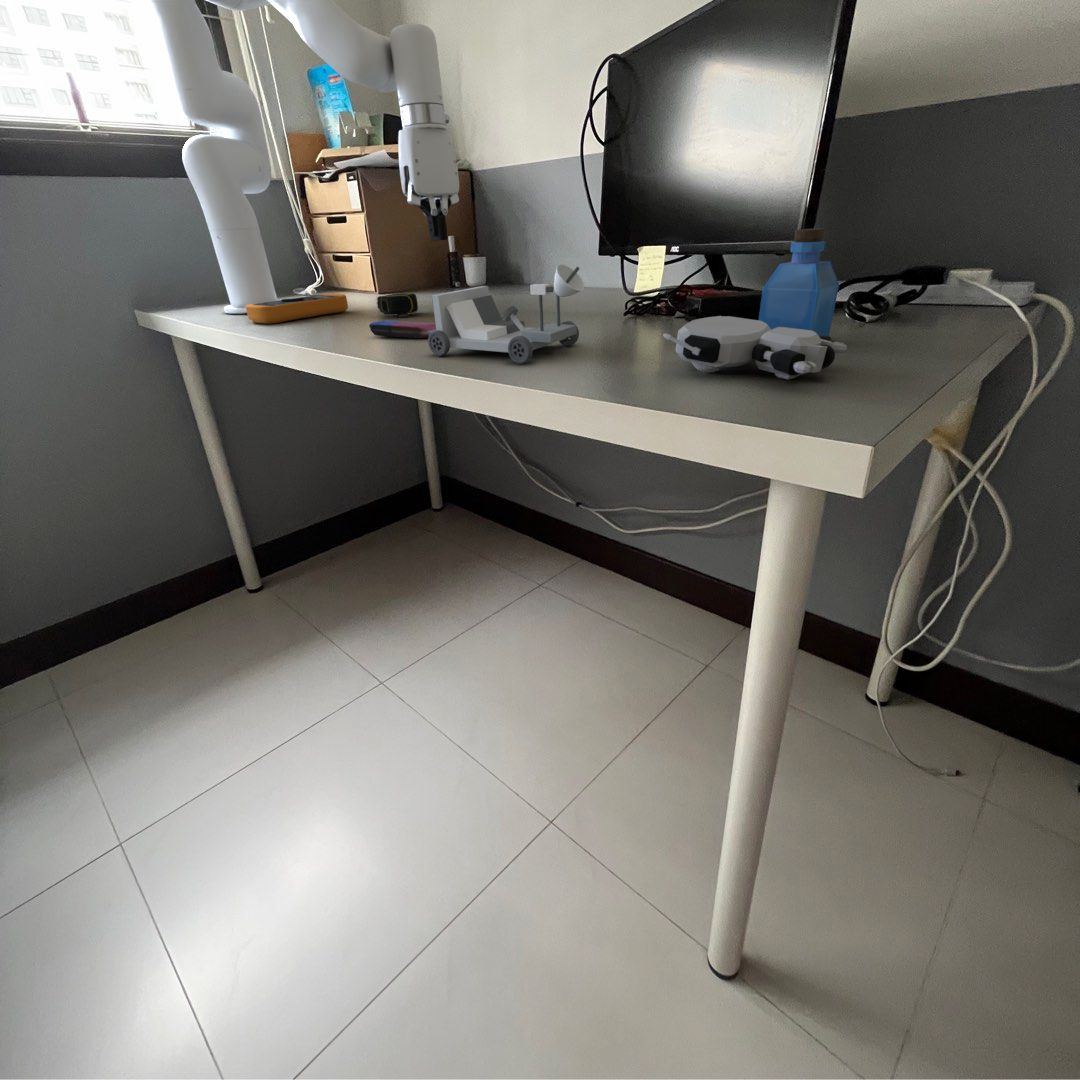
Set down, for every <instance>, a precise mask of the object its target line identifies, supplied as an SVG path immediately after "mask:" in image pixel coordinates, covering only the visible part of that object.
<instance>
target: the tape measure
mask: <svg viewBox="0 0 1080 1080" xmlns="http://www.w3.org/2000/svg"><path fill="white" fill-rule="evenodd" d="M376 304H377V308H378V310H379V312H380V313H382V314H383V315H386V316H387V315H388V316H395V315H397V316H398V317H399V318H406V317H409V316H410V315H409V314H413V313H417V312H418V310H419V304H418V298H417V294H415V293H413V292H410V293H409V292H407V293H406V292H405V293H404V292H403V293H400V292H399V293H391V294H385V295H382V296H381V295H379V296H377V302H376Z"/></svg>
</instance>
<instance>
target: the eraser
mask: <svg viewBox="0 0 1080 1080" xmlns="http://www.w3.org/2000/svg"><path fill="white" fill-rule="evenodd" d="M368 326H369V329H370V331H371V333H372V334H373V335H374V336H379V337H393V338H394V337H395V338H410V339H428V338H429V335H430V334H431V333H432V332H433V331H437V330H436V323H435V322H421V321H404V320H403V321H401V320H400V321H399V320H378V321H373V322H371V323H369V325H368Z"/></svg>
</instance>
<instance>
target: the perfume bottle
mask: <svg viewBox="0 0 1080 1080" xmlns="http://www.w3.org/2000/svg"><path fill="white" fill-rule="evenodd" d="M826 230H827V228H803V229H802V228H801V229H800V228H799V229H794V237H795V238H794V239H795V241H792V242H791V244H790V253H792V256H791V261H788V262H783V263H779V265H777V268H775V270H774V272H773V273H772V275H771V276H770V277H769V279H768V280H767V282H766V283H765V285H764V286H763V287H762V293H761V301H760V308H759V315H758V321H762V322H764V323H766V324H767V325H768V326H769V327H770V329H771V330H772V329H775V328H777V327H786V328H795V329H803V330H812V331H814V332H816V333H817V334H818V336H830V333H831V329H832V328H831V327H832V323H833V318H834V312H835V309H836V303H837V297H838V292H839V289H840V283H839V281H838V278H837V275H836V273H835V271H834V270H835V269H834V268H833V266H832V263H831V261H830V260H828V261H827V260H823V261H822V260H820V257H821V252H824V250H825V245H826V240H823V238H824V235H825V233H826Z"/></svg>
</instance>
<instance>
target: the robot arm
mask: <svg viewBox="0 0 1080 1080" xmlns="http://www.w3.org/2000/svg"><path fill="white" fill-rule="evenodd" d="M205 1H206V2H209V3H211V4H214V5H216V6H218V7H221V8H224V9H225V10H229V11H234V12H245V11H250V10H254V9H258V8H262V7H266V6H269V5H271V6H272V7H273V8H274V9H276V10H277V11H278V12H279V13H280V14H281V15H282V16H283V17H285V19H287V20H288V21H289V22H290V23H291V24H292V26H293V27H294V29H295V31H296V33H298V35H299V37H300V38H301V39H302V41H303V42H304V43H305V44H306V45H307V46H308V47H309V49H311V50H312V51H313V52H314V54H316V55H317V56H318V57H319V58H320V59H322V61H324V62H325V63H326V64H327V65H328V66H329V67H331V68H332V69H333V70H334V71H335V72H336V73H337V74H339V76H341V77H343V78H344V79H346V81H349V82H351V83H352V84H356V85H359V86H363V87H365V88H368V89H371V90H374V91H376V92H380V93H384V94H385V93H387V94H388V93H389V94H390V93H393V92H396V93H397V98H398V106H399V113H400V121H401V126H402V129H399V131H398V141H397V143H398V146H397V147H398V148H397V150H398V151H397V152H398V167H399V177H400V184H401V190H402V193H403V195H404V196H405V197H407V203H408V204H409V205H411V206H414V207H418V208H419V210H420V211H421V212H422V214H423V215H424V217H426V220H427V226H428V232H429V237H430V241H432V242H436V241H447V240H448V227H447V220H446V216H447V215H448V214H449V213H448V212H449V210H450V207H451V206H452V205H455V204H457V203H459V201H460V198H459V194H458V193H459V191H460V179H459V178H460V177H459V169H458V164H457V163H458V162H457V157H456V153H455V149H454V144H453V139H452V137H451V133H450V130H449V129H447V124H449V123H450V116H449V115H448V114H446V113H445V107H444V97H443V88H442V80H441V72H440V71H441V70H440V62H439V53H438V46H437V38H436V35H435V33H434V31H433V29H432V28H430V27H429V26H428V25H425V24H422V23H414V22H413V23H403V24H400V25H396V26H395V27H393V29H392V30H391V31H390V34H389V36H385V35H383V34H380V33H377V32H375V31H373V30H372V29H370V28H368V27H365V26H363V25H361V24H359V22H356V20H354V19H353V18H352V17H351V16H350V15H348V14H347V13H346V12H345V10H343V9H342V8H341V7H340V6H339V5H337V3H335V2H334V1H333V0H205ZM148 3H149V5H150V9H151V11H152V13H153V17H154V19H155V23H156V26H157V29H158V32H159V33H158V34H159V37H160V41H161V45H162V50H163V53H164V57H165V61H166V66H167V69H168V75H169V78H170V82H171V85H172V89H173V94H174V96H175V100H176V103H177V105H178V108H179V110H180V112H181V113H182V114H183V116H184V117H185V118H186V119H187V120H189V121H190V122H192V123H193V124H196V125H199V126H202V127H207V128H213V129H219V130H221V131H222V135H223V136H221V135H214V134H213V135H212V134H198V135H194V136H192V137H190V138H189V139H188V140H186V142H185V144H184V146H183V148H182V163H183V167H184V170H185V172H186V175H187V177H188V179H189V181H190V184H191V186H192V188H193V190H194V192H195V194H196V196H197V198H198V201H199V204H200V206H201V210H202V212H203V215H204V218H205V223H206V226H207V228H208V231H209V234H210V238H211V241H212V244H213V245H212V246H213V248H214V252H215V255H216V259H217V262H218V266H219V269H220V272H221V275H222V279H223V282H224V286H225V289H226V293H227V296H228V300H229V303H230V304H229V305H225V306H224V307H223V310H224V313H226V314H230V315H231V314H233V315H235V314H237V315H238V314H239V315H241V314H247V310H246V307H245V306H246V305H248V304H256V303H263V302H271V301H278V297H277V292H276V289H275V285H274V281H273V277H272V273H271V272H272V271H271V269H270V265H269V261H268V257H267V253H266V249H265V245H264V242H263V241H264V240H263V237H262V233H261V230H260V226H259V222H258V218H257V216H256V213H255V211H254V208H253V207H252V205H251V203H250V201H249V200H248V198H247V196H246V195H257V194H261V193H264V191H266V190H267V189H268V188H269V186H270V183H271V179H272V165H271V160H270V155H269V149H268V145H267V139H266V133H265V129H264V124H263V118H262V113H261V109H260V105H259V102H258V100H257V98H256V95H255V93H254V91H253V90H252V89H251V87H250V85H249V84H248V83H247V82H246V81H245V80H244V79H243V78H241V77H240V76H239V75H237V74H234V73H233V72H230V71H227V70H223V69H222V68H221V67H220V63H219V61H218V57H217V52H216V49H215V42H214V38H213V35H212V33H211V29H210V27H209V25H208V23H207V21H206V19H205V17H204V15H203V13H202V12H201V10H200V8H199V6H198V5H197V2H196V0H148Z"/></svg>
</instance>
